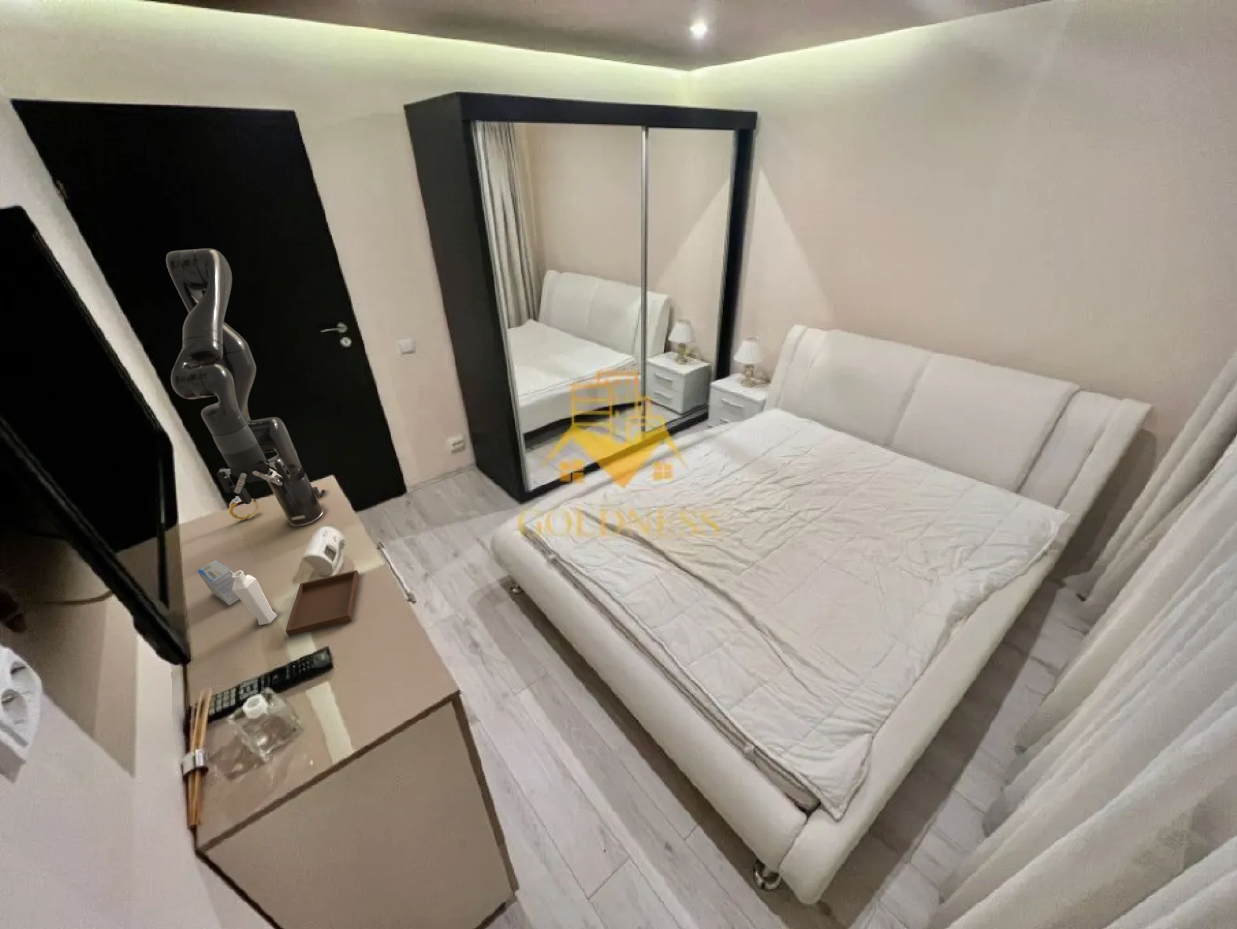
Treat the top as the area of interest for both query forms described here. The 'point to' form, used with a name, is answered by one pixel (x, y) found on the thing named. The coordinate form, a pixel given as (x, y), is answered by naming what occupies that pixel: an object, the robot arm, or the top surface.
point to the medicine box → (219, 581)
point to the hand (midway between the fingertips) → (267, 498)
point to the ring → (236, 504)
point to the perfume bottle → (253, 597)
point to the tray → (323, 603)
